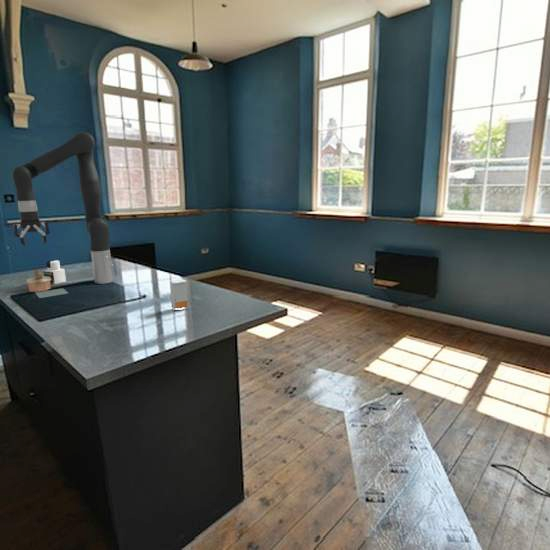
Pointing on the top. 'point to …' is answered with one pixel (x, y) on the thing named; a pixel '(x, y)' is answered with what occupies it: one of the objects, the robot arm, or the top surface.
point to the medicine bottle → (55, 272)
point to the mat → (51, 293)
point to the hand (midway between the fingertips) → (34, 244)
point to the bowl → (39, 287)
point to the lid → (38, 278)
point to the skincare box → (179, 293)
